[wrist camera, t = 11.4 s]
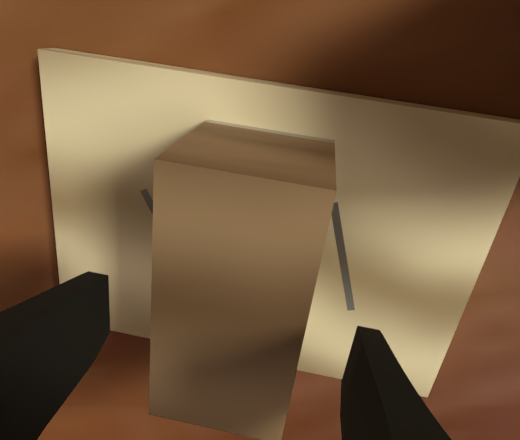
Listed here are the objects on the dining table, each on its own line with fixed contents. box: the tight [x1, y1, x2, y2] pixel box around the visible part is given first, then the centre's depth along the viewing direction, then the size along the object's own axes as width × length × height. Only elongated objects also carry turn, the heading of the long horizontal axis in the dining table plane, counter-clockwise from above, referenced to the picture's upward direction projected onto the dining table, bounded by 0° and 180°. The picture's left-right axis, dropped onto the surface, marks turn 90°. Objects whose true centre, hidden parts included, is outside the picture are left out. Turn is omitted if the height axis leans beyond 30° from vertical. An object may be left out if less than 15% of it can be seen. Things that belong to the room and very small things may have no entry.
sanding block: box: [149, 119, 337, 440], centre depth 14 cm, size 9×4×5 cm, turn 173°
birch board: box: [37, 48, 520, 397], centre depth 17 cm, size 12×17×1 cm
